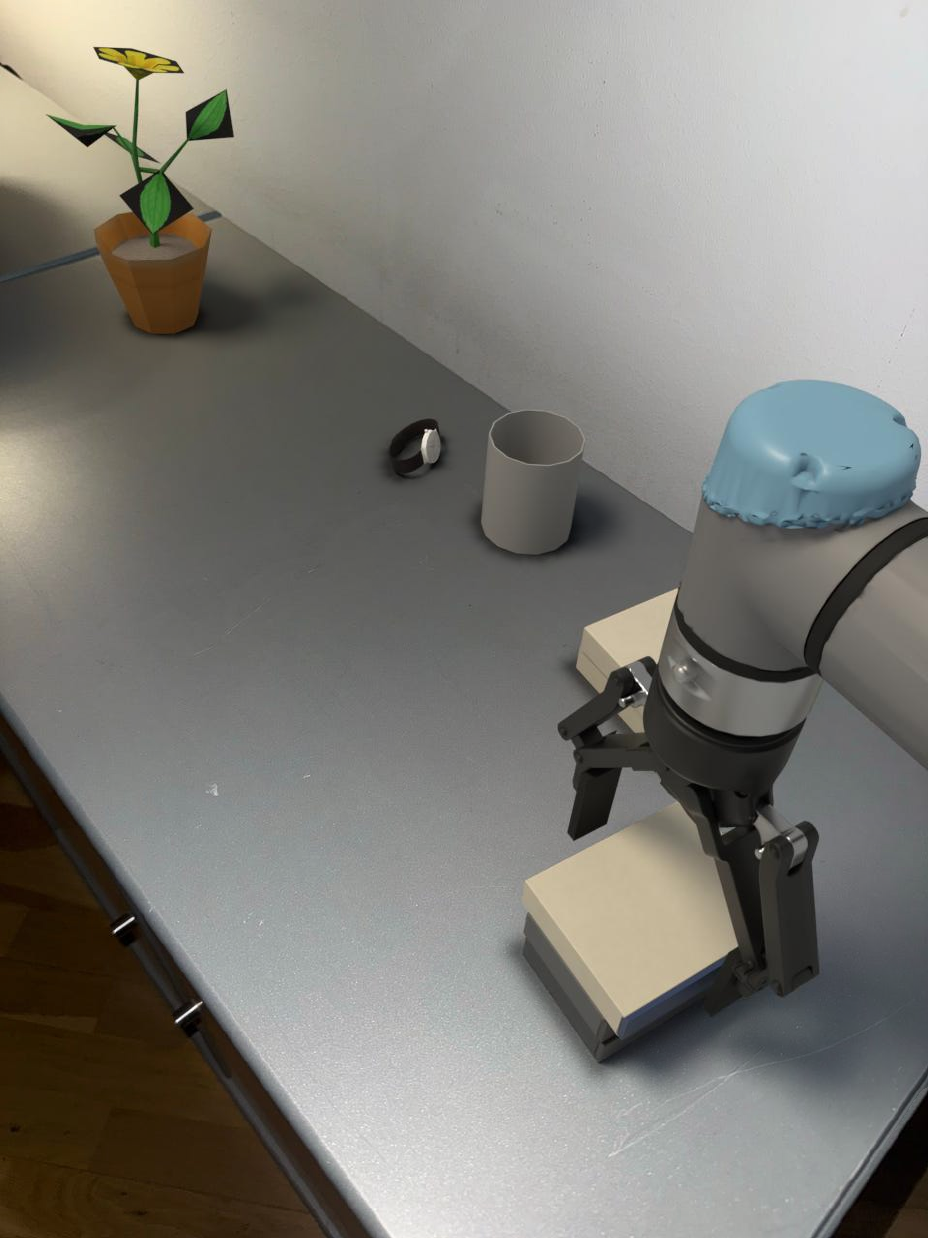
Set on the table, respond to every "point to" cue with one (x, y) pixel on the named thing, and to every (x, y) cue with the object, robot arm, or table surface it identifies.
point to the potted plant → (156, 213)
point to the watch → (428, 447)
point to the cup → (531, 481)
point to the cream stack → (625, 645)
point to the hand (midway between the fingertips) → (651, 910)
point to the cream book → (637, 918)
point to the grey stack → (580, 996)
